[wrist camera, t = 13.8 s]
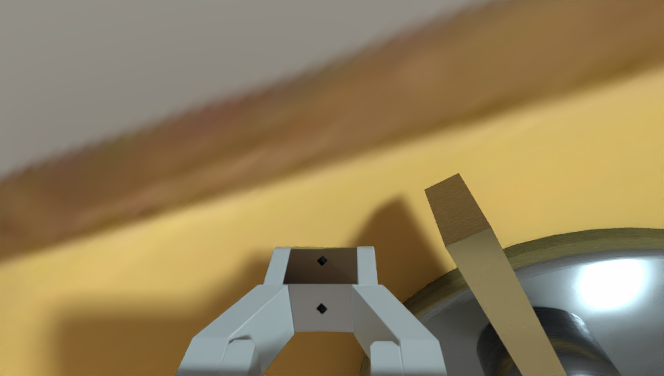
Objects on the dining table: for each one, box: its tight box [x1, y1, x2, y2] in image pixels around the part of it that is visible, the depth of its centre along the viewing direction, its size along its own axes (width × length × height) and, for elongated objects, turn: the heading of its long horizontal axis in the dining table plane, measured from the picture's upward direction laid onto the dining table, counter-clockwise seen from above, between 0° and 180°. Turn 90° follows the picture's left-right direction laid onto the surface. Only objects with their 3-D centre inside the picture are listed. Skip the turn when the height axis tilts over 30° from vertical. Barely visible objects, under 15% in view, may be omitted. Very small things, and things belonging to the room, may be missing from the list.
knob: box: [425, 173, 622, 376], centre depth 12 cm, size 12×5×3 cm, turn 32°
